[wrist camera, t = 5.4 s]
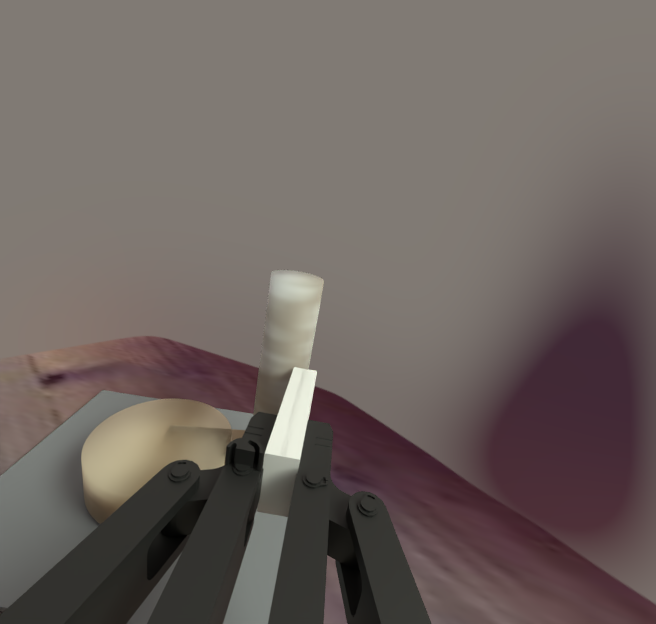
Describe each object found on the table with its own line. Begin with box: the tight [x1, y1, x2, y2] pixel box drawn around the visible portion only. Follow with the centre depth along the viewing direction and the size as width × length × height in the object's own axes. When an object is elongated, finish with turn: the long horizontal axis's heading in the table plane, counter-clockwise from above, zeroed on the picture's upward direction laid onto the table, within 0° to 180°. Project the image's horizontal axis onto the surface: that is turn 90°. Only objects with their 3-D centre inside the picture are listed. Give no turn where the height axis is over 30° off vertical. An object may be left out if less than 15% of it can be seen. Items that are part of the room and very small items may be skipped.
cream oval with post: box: [81, 270, 324, 524], centre depth 19 cm, size 12×8×14 cm
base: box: [0, 390, 288, 624], centre depth 21 cm, size 17×15×1 cm
